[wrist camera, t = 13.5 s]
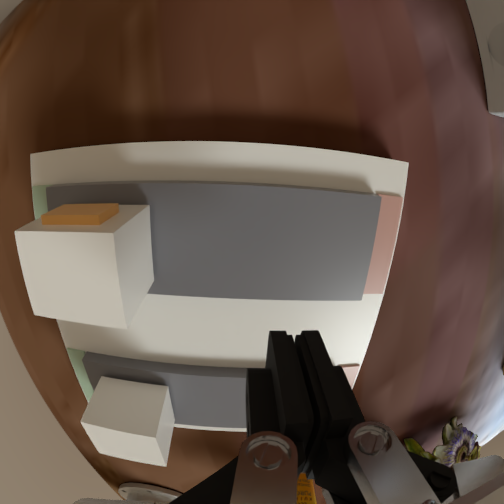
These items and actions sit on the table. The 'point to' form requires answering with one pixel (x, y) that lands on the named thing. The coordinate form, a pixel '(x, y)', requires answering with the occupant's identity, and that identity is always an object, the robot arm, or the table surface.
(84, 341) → the panel
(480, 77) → the table surface
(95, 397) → the block
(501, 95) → the skincare box
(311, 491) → the beer can
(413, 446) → the passion flower
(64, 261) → the block
